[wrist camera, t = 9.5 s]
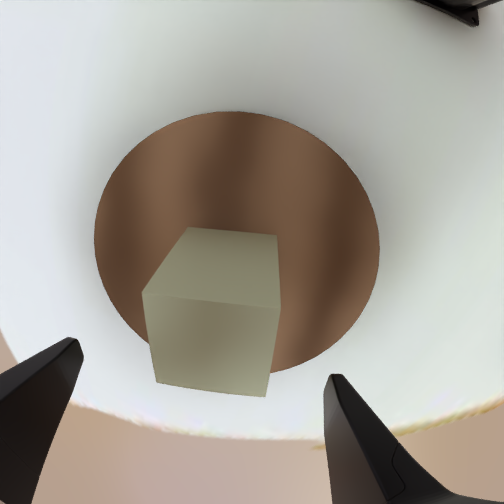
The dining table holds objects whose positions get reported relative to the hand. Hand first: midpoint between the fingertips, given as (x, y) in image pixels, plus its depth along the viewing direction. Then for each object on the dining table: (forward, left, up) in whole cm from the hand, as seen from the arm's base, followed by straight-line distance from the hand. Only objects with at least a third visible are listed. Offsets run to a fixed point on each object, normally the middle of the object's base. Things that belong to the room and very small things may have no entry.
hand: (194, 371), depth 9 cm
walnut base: (0, +1, -12) cm, 12 cm away
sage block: (0, +1, -9) cm, 9 cm away
